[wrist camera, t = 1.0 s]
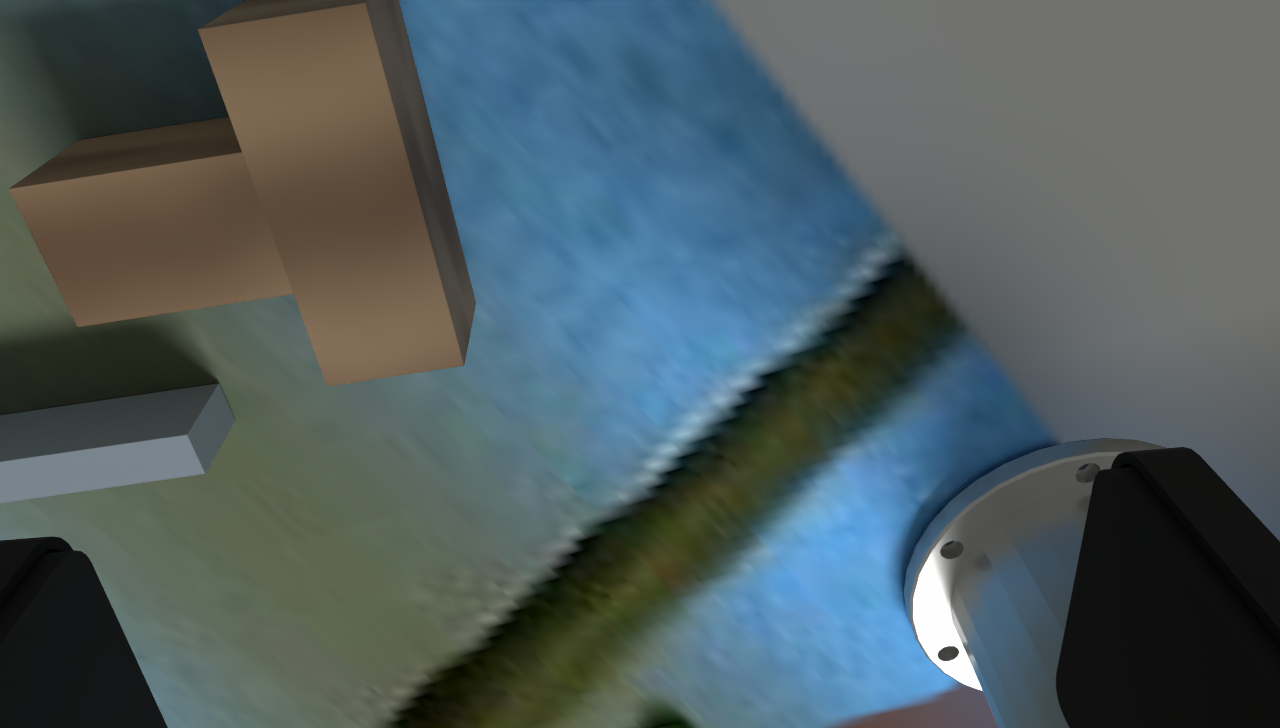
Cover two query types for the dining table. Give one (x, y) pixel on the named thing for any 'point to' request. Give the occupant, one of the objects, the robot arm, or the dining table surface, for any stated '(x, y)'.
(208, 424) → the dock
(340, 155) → the t block
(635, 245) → the dining table surface
